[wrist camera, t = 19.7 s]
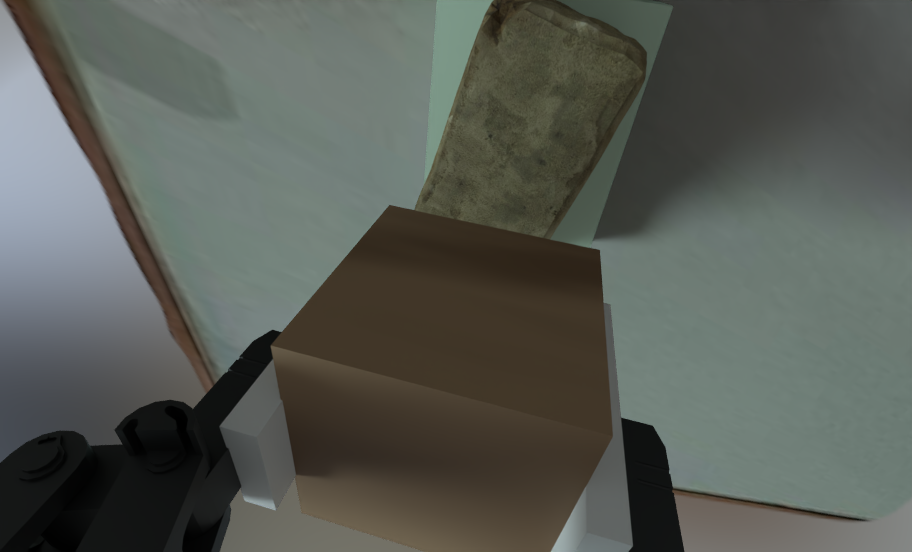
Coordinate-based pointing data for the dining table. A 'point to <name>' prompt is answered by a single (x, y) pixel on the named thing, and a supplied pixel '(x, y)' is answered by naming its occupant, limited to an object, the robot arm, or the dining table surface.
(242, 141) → the dining table surface
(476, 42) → the stone block
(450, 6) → the base slab
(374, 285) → the walnut cube
